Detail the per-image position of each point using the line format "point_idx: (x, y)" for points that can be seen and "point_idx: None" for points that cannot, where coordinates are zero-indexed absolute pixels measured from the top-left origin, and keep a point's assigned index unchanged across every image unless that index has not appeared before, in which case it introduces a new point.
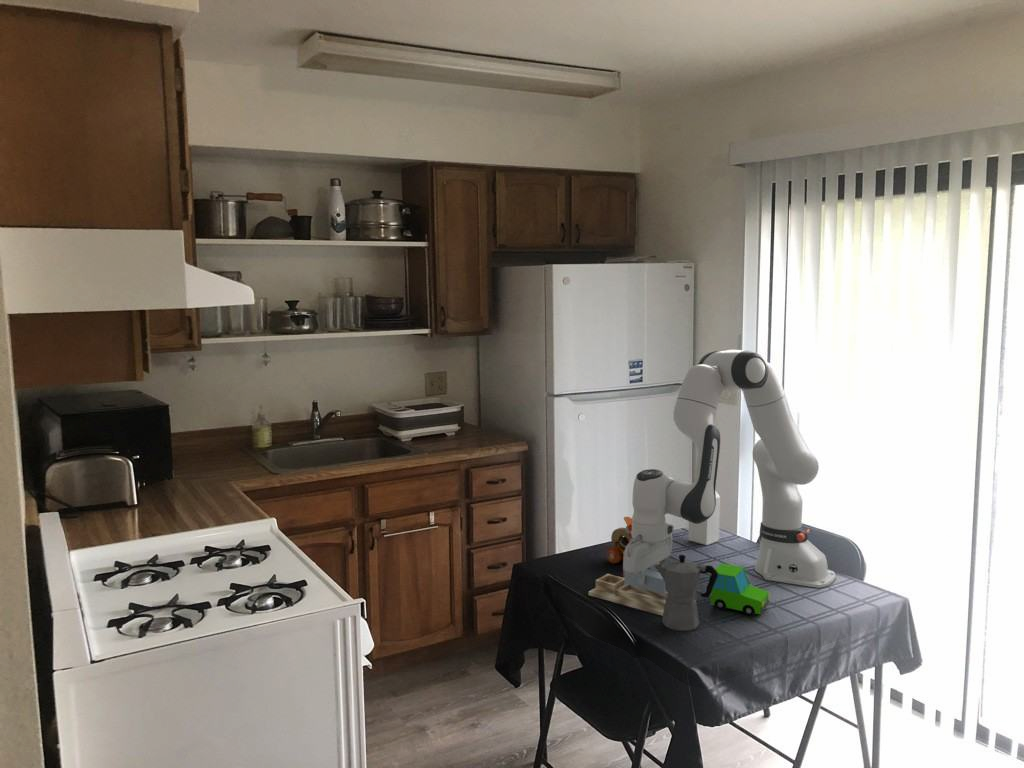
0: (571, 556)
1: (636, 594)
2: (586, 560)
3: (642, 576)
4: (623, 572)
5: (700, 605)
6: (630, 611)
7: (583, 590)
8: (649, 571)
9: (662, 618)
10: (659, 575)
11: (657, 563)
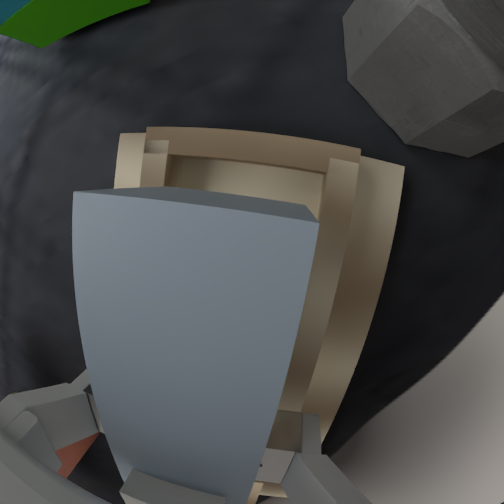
0: (97, 496)
1: (288, 392)
2: (88, 481)
3: (346, 482)
4: (90, 444)
5: (143, 56)
6: (400, 347)
7: (260, 498)
8: (138, 449)
9: (477, 153)
10: (165, 354)
11: (17, 424)
